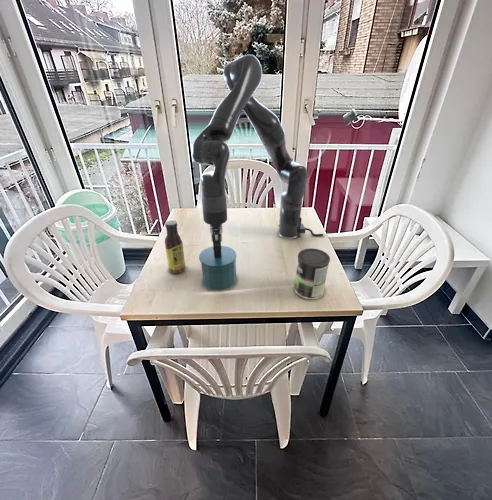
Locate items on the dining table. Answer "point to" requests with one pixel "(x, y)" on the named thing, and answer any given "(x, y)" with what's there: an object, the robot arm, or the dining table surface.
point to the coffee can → (311, 273)
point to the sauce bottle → (174, 248)
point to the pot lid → (209, 258)
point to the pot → (219, 276)
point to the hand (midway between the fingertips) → (217, 251)
